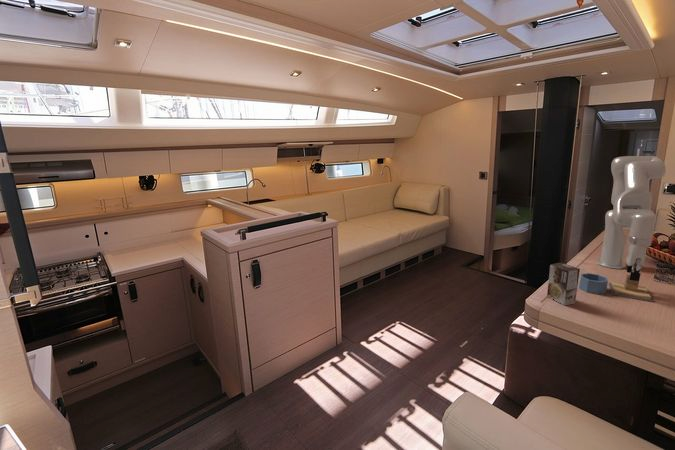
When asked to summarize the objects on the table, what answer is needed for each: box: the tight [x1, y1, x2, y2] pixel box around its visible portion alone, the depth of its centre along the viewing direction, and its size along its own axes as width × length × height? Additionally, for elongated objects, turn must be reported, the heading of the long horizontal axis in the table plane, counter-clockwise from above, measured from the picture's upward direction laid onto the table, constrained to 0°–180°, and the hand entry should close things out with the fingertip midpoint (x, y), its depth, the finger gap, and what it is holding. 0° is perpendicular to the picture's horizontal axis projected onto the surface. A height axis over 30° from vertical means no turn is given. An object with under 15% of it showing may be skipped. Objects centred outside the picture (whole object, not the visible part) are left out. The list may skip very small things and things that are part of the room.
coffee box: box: [546, 262, 581, 306], centre depth 143 cm, size 9×6×16 cm
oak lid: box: [611, 274, 652, 300], centre depth 148 cm, size 12×12×7 cm
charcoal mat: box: [608, 282, 655, 303], centre depth 149 cm, size 14×14×1 cm
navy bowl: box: [578, 272, 609, 295], centre depth 153 cm, size 10×10×6 cm
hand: (632, 276), depth 148 cm, fingers open, 9 cm apart
